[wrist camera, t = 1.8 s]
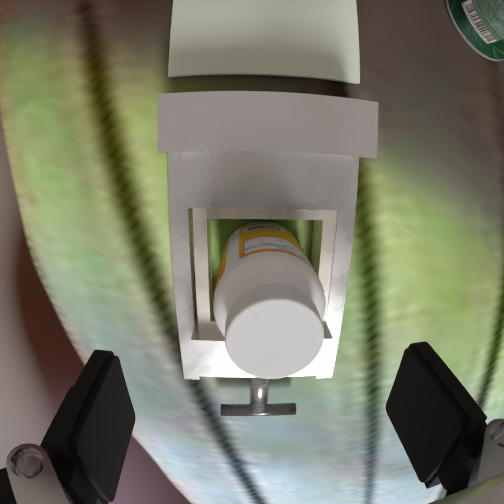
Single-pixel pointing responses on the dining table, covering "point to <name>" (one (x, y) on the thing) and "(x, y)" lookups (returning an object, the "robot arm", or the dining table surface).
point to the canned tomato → (480, 25)
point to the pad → (265, 38)
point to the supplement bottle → (268, 302)
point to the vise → (260, 204)
